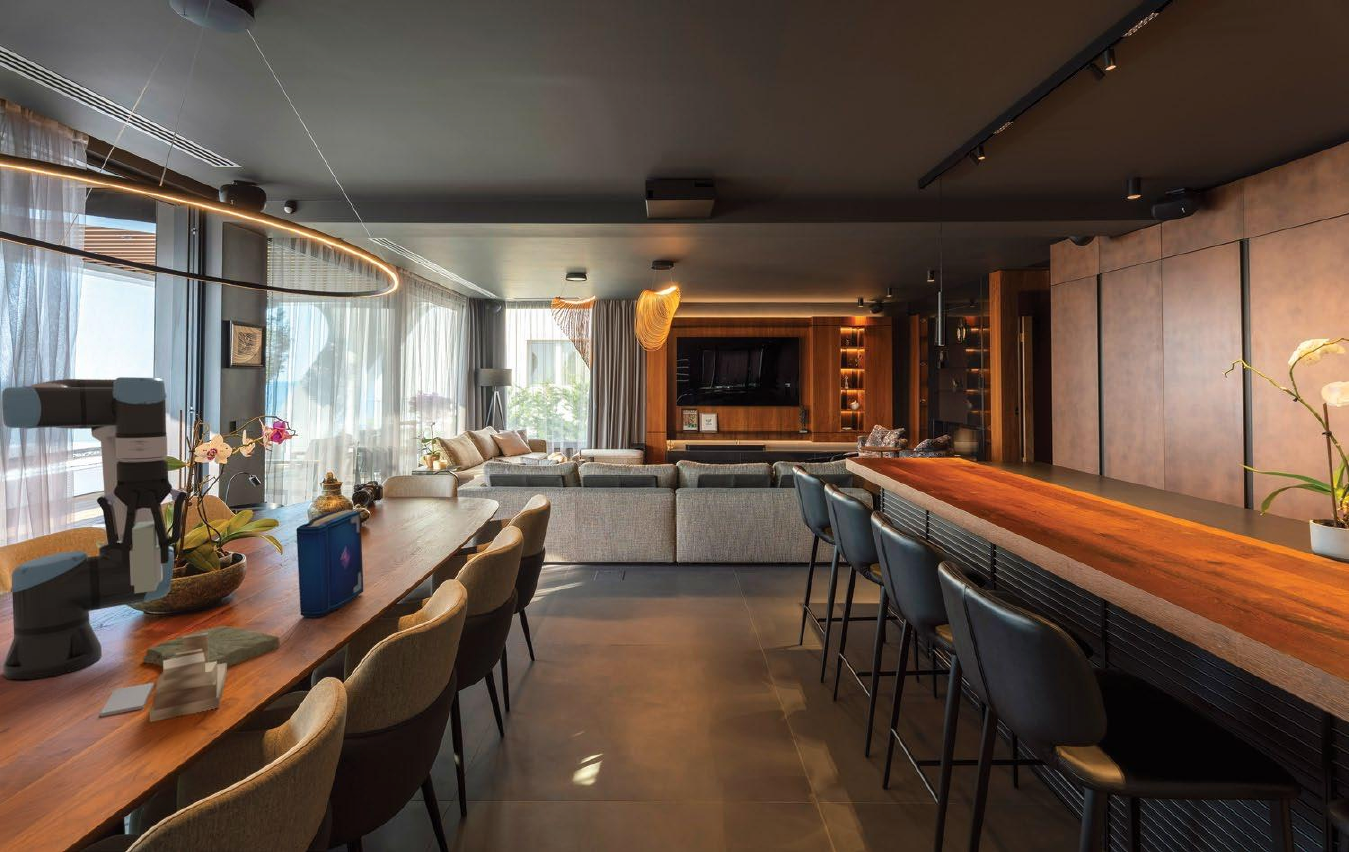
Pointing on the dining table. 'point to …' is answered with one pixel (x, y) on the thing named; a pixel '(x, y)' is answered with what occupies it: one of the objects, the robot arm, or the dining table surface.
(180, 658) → the offcut top
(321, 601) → the book
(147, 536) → the pale green block
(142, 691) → the felt mat
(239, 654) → the decorative tile
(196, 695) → the offcut bottom
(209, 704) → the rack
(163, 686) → the block
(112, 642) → the dining table surface
